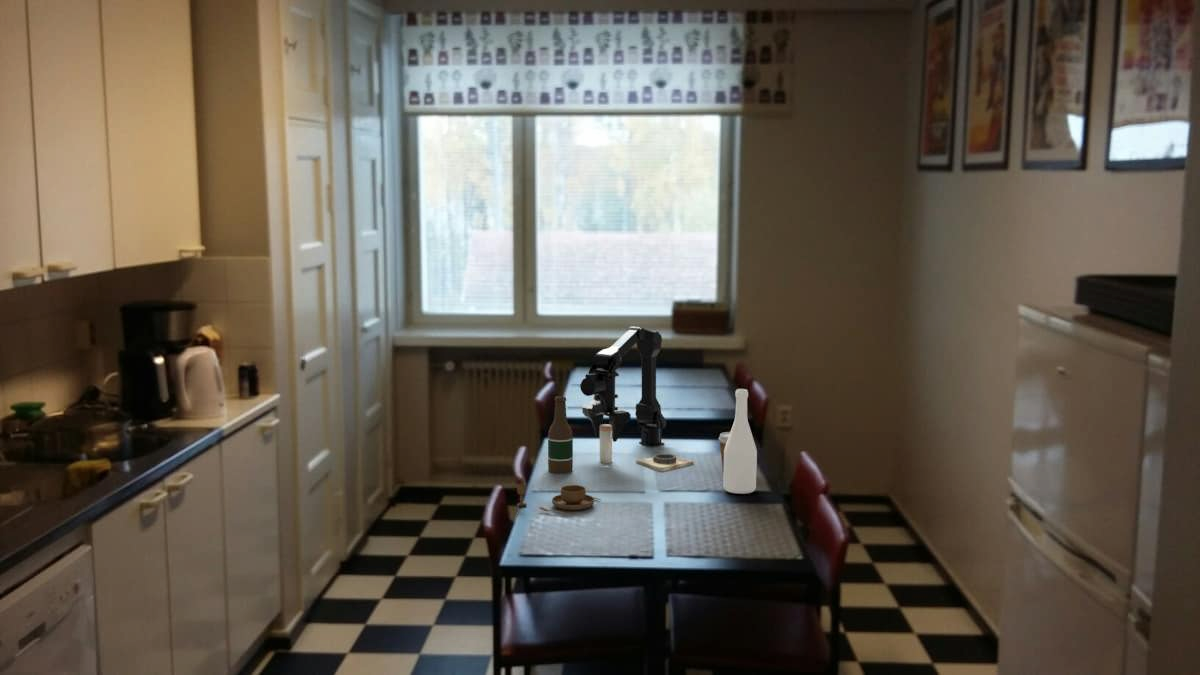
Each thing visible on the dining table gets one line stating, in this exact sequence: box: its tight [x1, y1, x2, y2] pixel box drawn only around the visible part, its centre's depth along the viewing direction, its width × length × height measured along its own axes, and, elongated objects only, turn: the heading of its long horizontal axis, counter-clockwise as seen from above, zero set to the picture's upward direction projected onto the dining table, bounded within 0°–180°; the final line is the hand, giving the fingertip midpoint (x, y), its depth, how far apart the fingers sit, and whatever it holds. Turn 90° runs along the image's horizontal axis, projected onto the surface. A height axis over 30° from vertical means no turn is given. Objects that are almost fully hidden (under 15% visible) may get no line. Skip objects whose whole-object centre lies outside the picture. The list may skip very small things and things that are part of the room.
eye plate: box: [635, 453, 694, 472], centre depth 325 cm, size 14×12×3 cm
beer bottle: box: [547, 395, 574, 475], centre depth 315 cm, size 8×8×24 cm
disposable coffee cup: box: [718, 431, 731, 473], centre depth 316 cm, size 10×10×12 cm
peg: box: [599, 423, 613, 464], centre depth 326 cm, size 4×4×12 cm
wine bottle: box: [722, 388, 758, 495], centre depth 295 cm, size 10×10×30 cm
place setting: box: [516, 483, 602, 516], centre depth 284 cm, size 18×20×6 cm
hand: (606, 438), depth 326 cm, fingers open, 9 cm apart
